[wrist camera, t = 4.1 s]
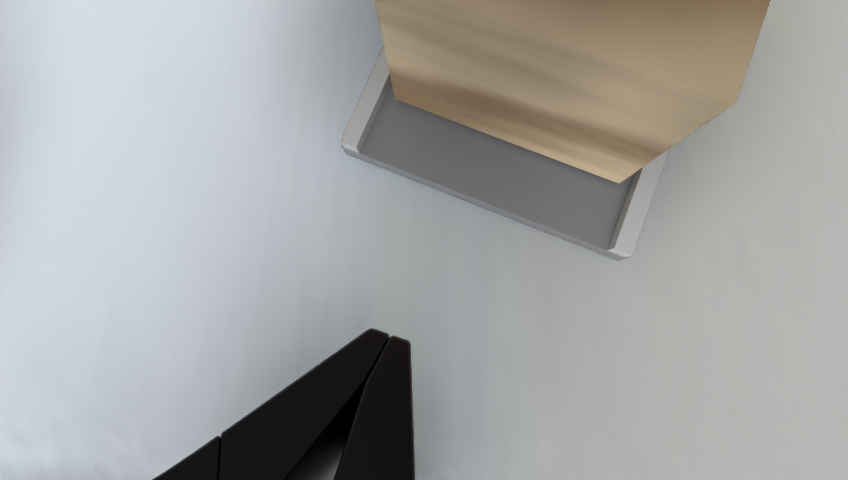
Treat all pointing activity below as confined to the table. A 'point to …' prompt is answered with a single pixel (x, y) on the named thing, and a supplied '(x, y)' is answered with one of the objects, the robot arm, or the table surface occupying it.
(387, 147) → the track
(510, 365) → the table surface
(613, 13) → the plate
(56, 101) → the table surface
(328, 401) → the robot arm
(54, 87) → the table surface
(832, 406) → the table surface
